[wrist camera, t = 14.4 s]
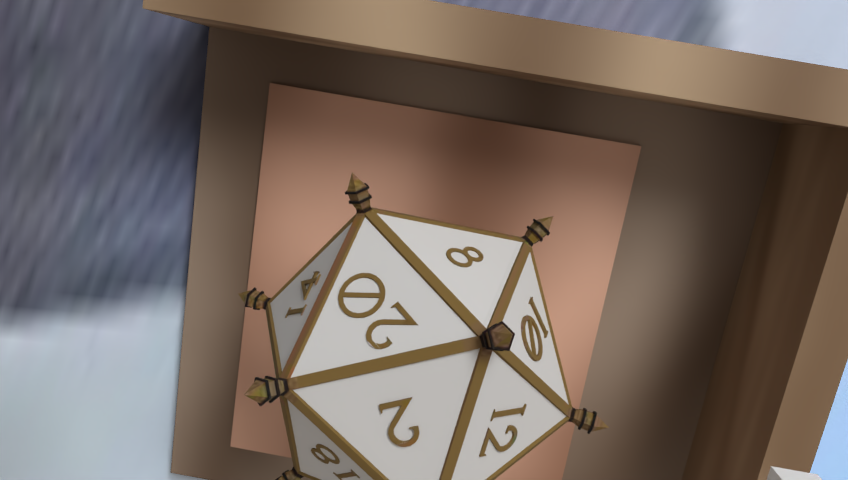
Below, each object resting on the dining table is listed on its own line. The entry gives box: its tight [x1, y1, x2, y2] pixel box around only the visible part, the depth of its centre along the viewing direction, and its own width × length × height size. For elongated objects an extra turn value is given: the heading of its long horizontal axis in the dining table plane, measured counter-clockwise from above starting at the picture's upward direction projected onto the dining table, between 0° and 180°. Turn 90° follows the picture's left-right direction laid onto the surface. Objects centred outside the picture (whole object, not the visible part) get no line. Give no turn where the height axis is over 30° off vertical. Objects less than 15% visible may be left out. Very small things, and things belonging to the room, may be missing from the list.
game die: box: [238, 173, 609, 480], centre depth 16 cm, size 9×8×10 cm
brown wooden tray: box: [143, 0, 848, 480], centre depth 19 cm, size 18×16×4 cm
